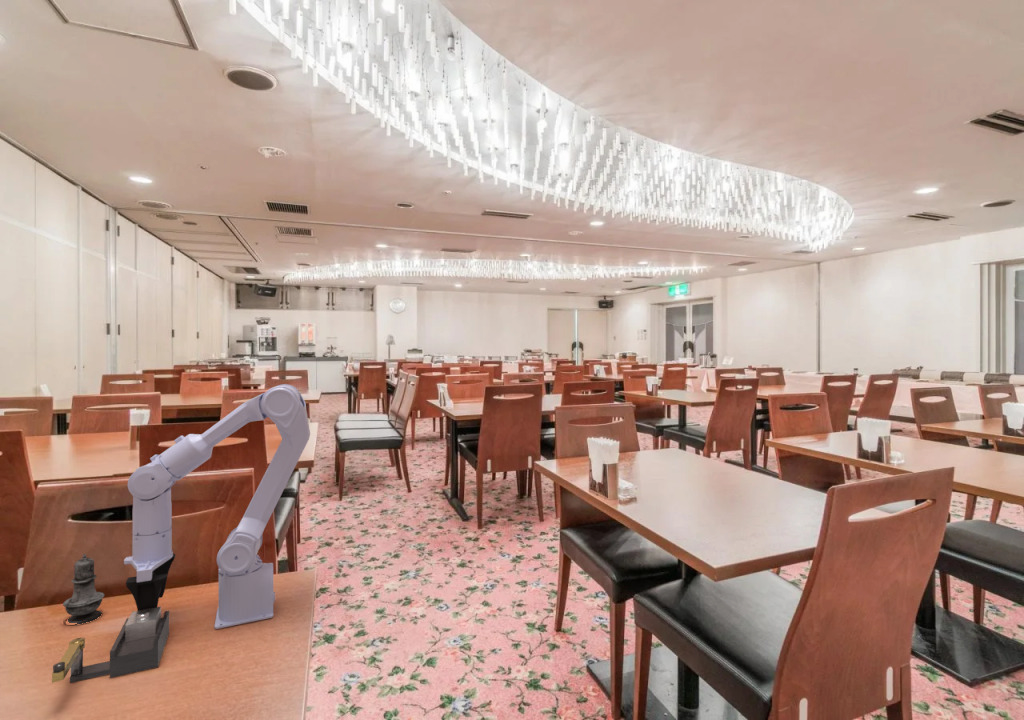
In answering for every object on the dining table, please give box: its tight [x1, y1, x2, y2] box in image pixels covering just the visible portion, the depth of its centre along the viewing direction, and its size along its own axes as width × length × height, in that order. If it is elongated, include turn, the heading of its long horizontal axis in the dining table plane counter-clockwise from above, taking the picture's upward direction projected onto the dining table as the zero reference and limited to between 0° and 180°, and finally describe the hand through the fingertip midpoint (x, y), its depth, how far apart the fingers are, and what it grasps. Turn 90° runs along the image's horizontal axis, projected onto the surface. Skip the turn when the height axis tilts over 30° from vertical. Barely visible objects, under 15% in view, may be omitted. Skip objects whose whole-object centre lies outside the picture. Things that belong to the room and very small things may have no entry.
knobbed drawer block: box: [125, 606, 162, 642], centre depth 83 cm, size 4×5×3 cm
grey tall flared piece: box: [62, 553, 105, 625], centre depth 94 cm, size 6×6×12 cm
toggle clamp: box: [69, 610, 170, 684], centre depth 81 cm, size 11×11×4 cm
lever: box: [51, 637, 86, 683], centre depth 72 cm, size 10×2×2 cm, turn 28°
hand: (152, 606), depth 90 cm, fingers open, 7 cm apart
